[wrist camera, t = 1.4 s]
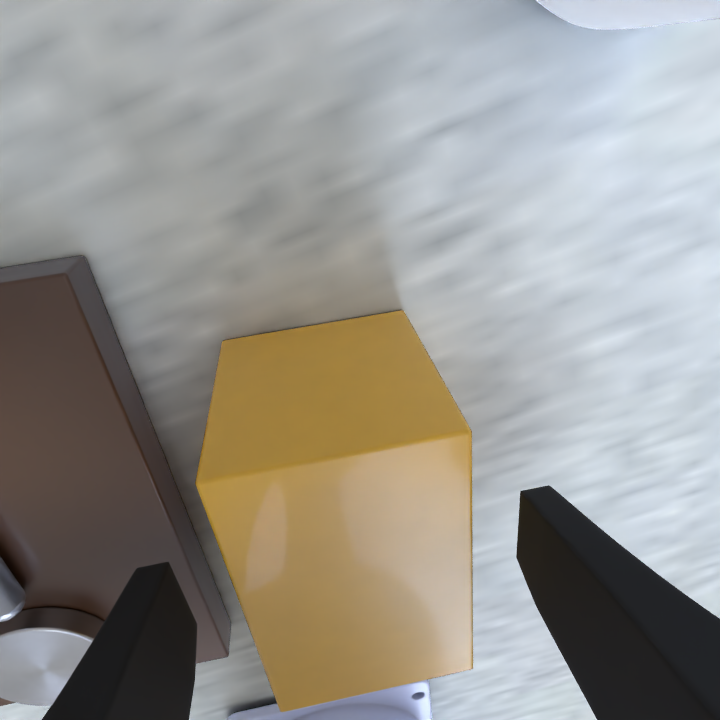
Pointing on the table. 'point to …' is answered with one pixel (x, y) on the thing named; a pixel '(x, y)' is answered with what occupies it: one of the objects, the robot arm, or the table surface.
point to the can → (631, 12)
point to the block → (342, 506)
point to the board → (85, 459)
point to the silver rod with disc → (38, 645)
